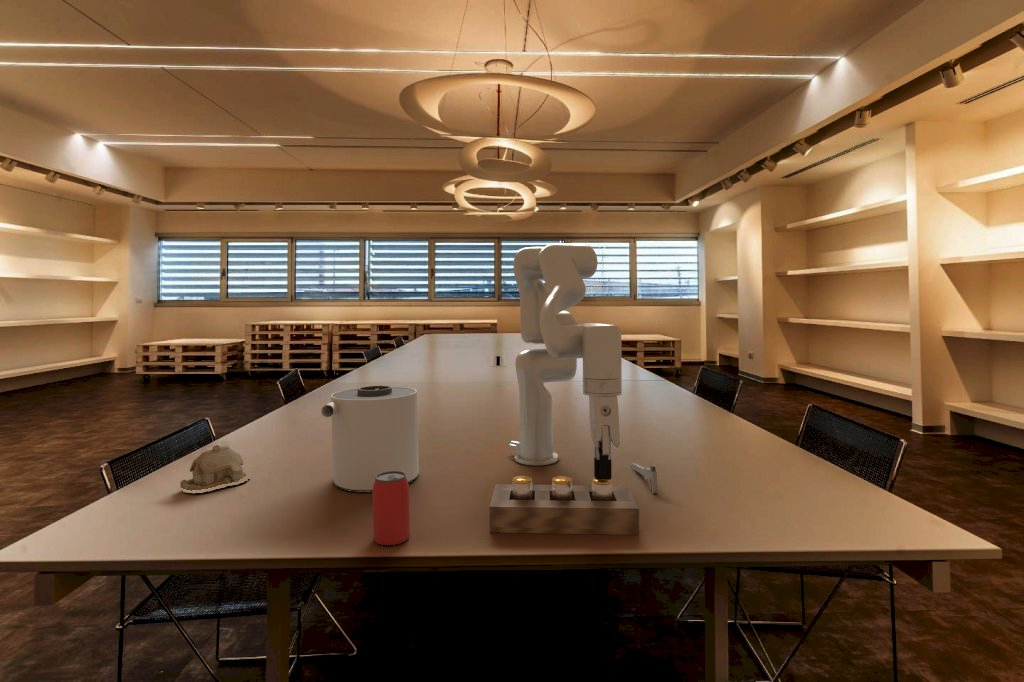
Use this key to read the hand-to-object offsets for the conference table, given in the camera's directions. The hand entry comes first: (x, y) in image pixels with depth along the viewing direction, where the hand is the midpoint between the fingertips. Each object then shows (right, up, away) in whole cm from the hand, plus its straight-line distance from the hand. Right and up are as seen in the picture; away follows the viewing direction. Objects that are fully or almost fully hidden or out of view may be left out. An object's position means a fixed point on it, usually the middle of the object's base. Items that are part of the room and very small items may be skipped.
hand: (602, 478), depth 94 cm
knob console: (-8, -9, +1) cm, 12 cm away
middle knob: (-8, -5, +1) cm, 10 cm away
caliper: (+15, -8, +25) cm, 30 cm away
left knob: (-16, -5, +1) cm, 17 cm away
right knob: (0, -5, 0) cm, 5 cm away
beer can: (-40, -10, -6) cm, 42 cm away
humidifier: (-54, -8, +26) cm, 60 cm away
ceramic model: (-91, -9, +24) cm, 95 cm away
